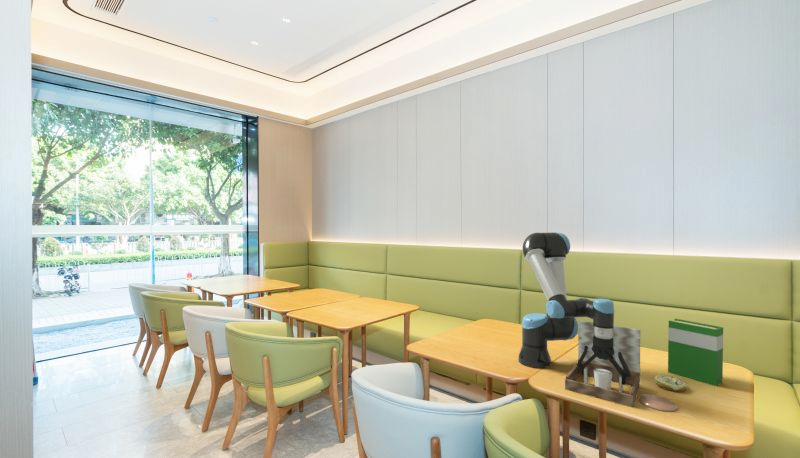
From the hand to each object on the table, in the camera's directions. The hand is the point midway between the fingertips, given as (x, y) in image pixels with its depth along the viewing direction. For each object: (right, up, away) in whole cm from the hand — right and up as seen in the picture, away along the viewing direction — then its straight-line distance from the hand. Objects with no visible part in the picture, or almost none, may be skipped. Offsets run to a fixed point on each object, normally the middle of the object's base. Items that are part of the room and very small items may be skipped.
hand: (602, 387), depth 154 cm
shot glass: (0, 0, 0) cm, 0 cm away
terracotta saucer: (+14, 0, -13) cm, 19 cm away
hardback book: (+47, 0, +11) cm, 48 cm away
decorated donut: (+29, -1, +1) cm, 29 cm away
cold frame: (0, 0, 0) cm, 0 cm away
